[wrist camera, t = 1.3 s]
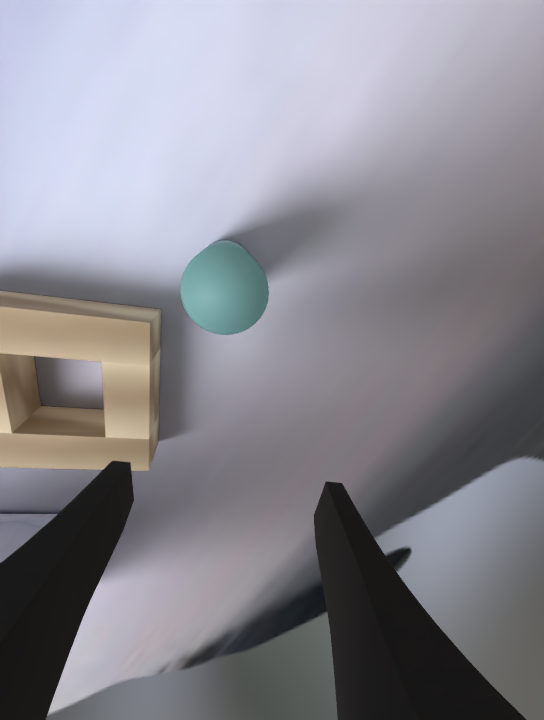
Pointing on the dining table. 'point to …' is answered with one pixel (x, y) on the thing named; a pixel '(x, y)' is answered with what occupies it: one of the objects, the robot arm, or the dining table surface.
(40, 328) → the light wooden square frame
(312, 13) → the dining table surface
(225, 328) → the dowel
